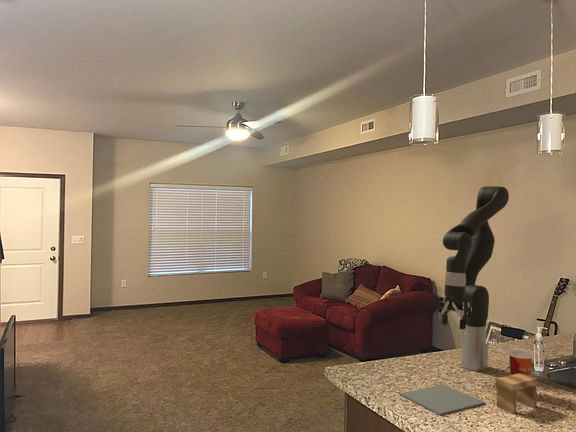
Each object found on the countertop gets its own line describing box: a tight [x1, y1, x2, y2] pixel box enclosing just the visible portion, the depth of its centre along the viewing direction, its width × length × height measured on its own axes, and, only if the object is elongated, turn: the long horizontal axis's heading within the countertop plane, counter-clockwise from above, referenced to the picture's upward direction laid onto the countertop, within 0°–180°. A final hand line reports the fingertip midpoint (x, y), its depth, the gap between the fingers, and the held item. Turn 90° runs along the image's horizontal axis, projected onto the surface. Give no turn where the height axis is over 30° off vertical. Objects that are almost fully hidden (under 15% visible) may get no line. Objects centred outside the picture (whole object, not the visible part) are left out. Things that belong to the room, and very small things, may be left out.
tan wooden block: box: [495, 373, 539, 415], centre depth 146 cm, size 12×6×9 cm, turn 117°
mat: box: [399, 384, 486, 416], centre depth 152 cm, size 20×18×1 cm
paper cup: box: [508, 348, 534, 377], centre depth 160 cm, size 8×8×14 cm
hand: (453, 326), depth 175 cm, fingers open, 8 cm apart
